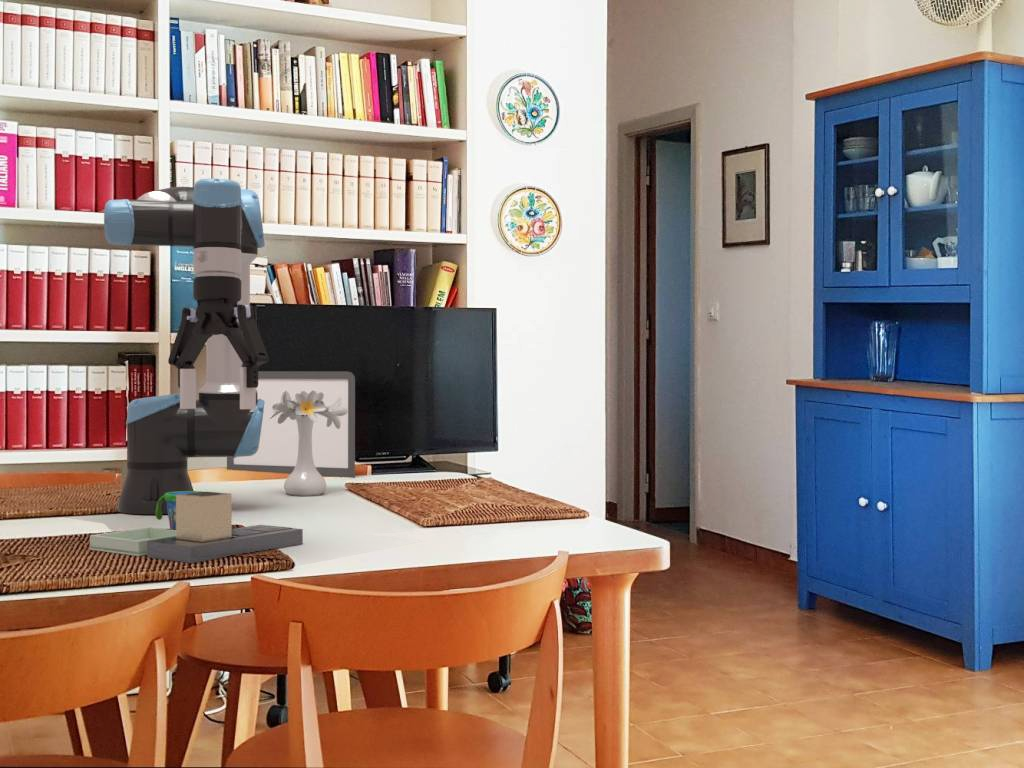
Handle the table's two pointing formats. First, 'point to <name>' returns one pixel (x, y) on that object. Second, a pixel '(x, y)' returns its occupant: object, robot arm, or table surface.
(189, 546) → the grey compartment tray
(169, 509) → the snack cup
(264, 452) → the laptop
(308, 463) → the flower vase
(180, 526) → the square wooden post
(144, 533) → the parts tray
